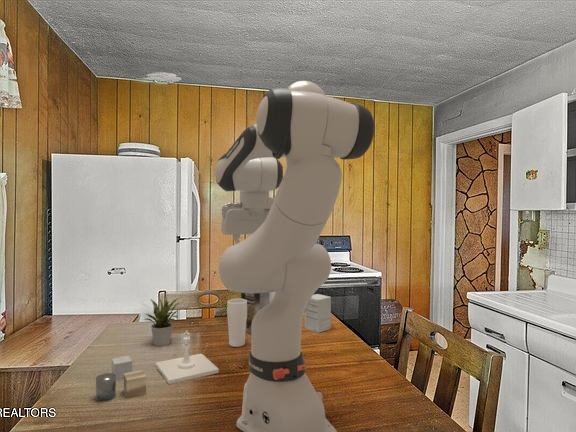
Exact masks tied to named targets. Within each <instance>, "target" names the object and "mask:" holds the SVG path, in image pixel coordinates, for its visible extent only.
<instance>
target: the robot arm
mask: <svg viewBox="0 0 576 432" xmlns="http://www.w3.org/2000/svg"><path fill="white" fill-rule="evenodd" d="M255 119H256V120H255V121H256V123H254V124H253V125H251V126H249V127H246V128H245V129H244V130H243V131H242V132H241V134H240V135H239V136H238V138H237V139H236V140H235V141H234V143H233V144H232V145H231V147H230V148H229V149H228V151H226V153H224V154H223V155H221V156H220V157H219V158H218V160H217V162H216V166H215V169H214V171H215V172H214V174H215V181H216V185H218V186H219V187H220V188H221V190H223V191H224V192H236V191H239V202H227V203H226V204H224V205H223V206H222V207H221V215H222V219H221V226H220V227H221V228H220V231H221V233H222V234H223V235H225V236H229V235H230V236H231V235H232V239H233V241H234V243H235V244H233V245H230V246H228V247H227V248H226V249H225V250H224V251H223V252H222V254H221V257H220V259H219V260H218V261H219V263H218V275H219V279H220V281H221V283H222V284H223V286H224V288H225V289H226V290H228V291H229V292H233V293H240V294H241V293H248V294H254V293H266V292H269V293H274V295H273V297H272V299H271V300H270V301H269V304H268V305H267V306H265V307H264V308H262V309H260V310H259V311H258V312H257V313H256V314H255V316H254V318H253V320H252V324H251V333H250V334H251V335H250V336H251V338H250V340H251V342H250V343H251V345H250V346H251V348H250V349H251V350H250V352H249V355H248V356H249V357H248V370H249V372H250V373H249V375H248V378H247V380H246V382H245V383H244V386H243V393H242V394H243V395H242V406H241V408H242V409H241V415H240V416H239V417H238V418H237V420H236V424H235V425H236V427H237V428H238V429H239V430H241V431H242V432H338V430H337V429H336V428H335V427H334V425H332V423H330V421H329V420H328V419H327V418H326V411H325V406H324V402H323V400H324V398H323V397H324V396H323V393H322V392H321V391H316V389H315V387H314V386H313V384H312V381H311V380H310V379H309V378H308V375H307V373H306V371H307V370H308V367H307V366H308V363H305V358H304V355H303V352H302V347H301V345H302V344H301V343H302V327H303V318H304V316H305V309H306V307H307V304H308V302H309V301H310V299H311V297H312V296H313V295H315V293H316V292H317V291H318V289H320V287H321V286H323V285H324V284H325V283H326V282H327V281H328V278H329V277H330V274H331V270H332V261H331V256H330V253H329V252H328V250H327V249H326V248H325V246H324V245H322V244H319V243H317V242H318V240H319V238H320V236H321V234H322V232H323V230H324V228H325V226H326V224H327V222H328V221H329V218H330V216H331V214H332V212H333V209H334V208H335V204H336V202H337V198H338V196H339V192H340V190H341V184H342V179H343V173H342V168H341V165H340V164H339V163H338V161H337V160H336V159H340V160H354V159H355V160H356V159H360V158H361V157H363V156H364V155H365V154H366V152H368V151H369V149H370V147H371V145H372V143H373V139H374V137H375V136H374V135H375V131H376V130H375V129H376V127H375V126H376V125H375V120H374V117H373V114H372V112H371V111H370V110H369V109H368V108H366V107H364V105H363V106H362V105H361V104H359V103H357V102H348V101H345V100H342V99H340V98H336V97H332V96H328V95H326V94H325V91H324V90H323V89H322V87H320V86H319V85H318V84H317V83H316V82H315V83H314V82H313V81H310V80H299V81H295V82H293V83H291V84H290V85H289V86H288V87H287V88H286V87H279V88H278V87H276V88H270V89H269V90H268V91H267V92H266V93H264V95H263V97H262V100H261V101H260V103H259V105H258V108H257V111H256V118H255ZM281 158H285V159H286V160H285V161H286V164H285V165H286V166H285V171H284V167H283V164H282V163H281V162H280V159H281ZM275 190H277V191H276V194H275V196H274V198H272V197H271V196H270V192H272V191H275ZM241 235H249V236H247V237H246V238H245V239H243V240H241V241H240V239H241Z"/></svg>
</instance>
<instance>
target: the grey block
mask: <svg viewBox="0 0 576 432" xmlns="http://www.w3.org/2000/svg"><path fill="white" fill-rule="evenodd" d="M129 372H133V360H132V358H131V356H130V355H126V356H120V357H115V358H111V373H113V374H115V375H116V381H120V380H124V373H129Z"/></svg>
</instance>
